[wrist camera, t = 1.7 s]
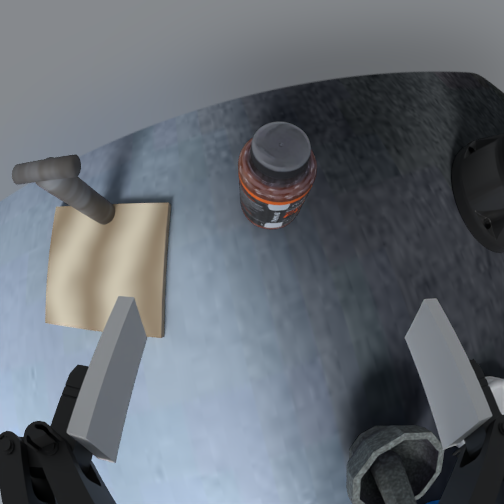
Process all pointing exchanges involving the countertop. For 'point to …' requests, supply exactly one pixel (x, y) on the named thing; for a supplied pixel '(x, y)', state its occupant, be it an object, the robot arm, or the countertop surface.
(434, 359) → the robot arm
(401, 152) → the countertop surface
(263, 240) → the countertop surface
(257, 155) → the supplement bottle
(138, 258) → the headphone stand
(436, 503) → the thermos
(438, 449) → the mortar and pestle
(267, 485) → the countertop surface
